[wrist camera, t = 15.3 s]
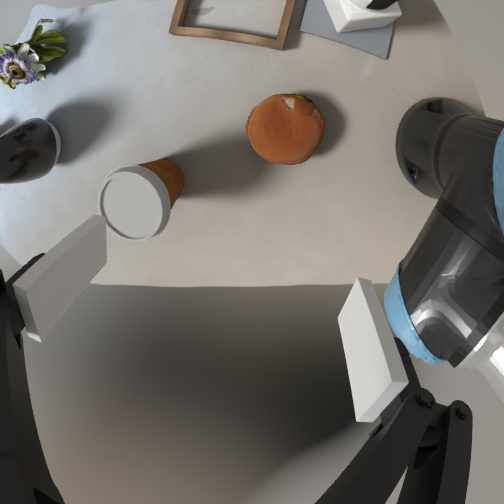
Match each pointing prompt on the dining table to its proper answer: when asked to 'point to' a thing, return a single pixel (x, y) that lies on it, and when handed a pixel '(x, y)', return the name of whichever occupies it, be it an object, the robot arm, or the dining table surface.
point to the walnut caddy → (277, 44)
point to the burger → (285, 129)
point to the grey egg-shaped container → (28, 151)
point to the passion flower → (29, 57)
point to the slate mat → (364, 39)
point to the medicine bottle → (362, 13)
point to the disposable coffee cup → (139, 199)
